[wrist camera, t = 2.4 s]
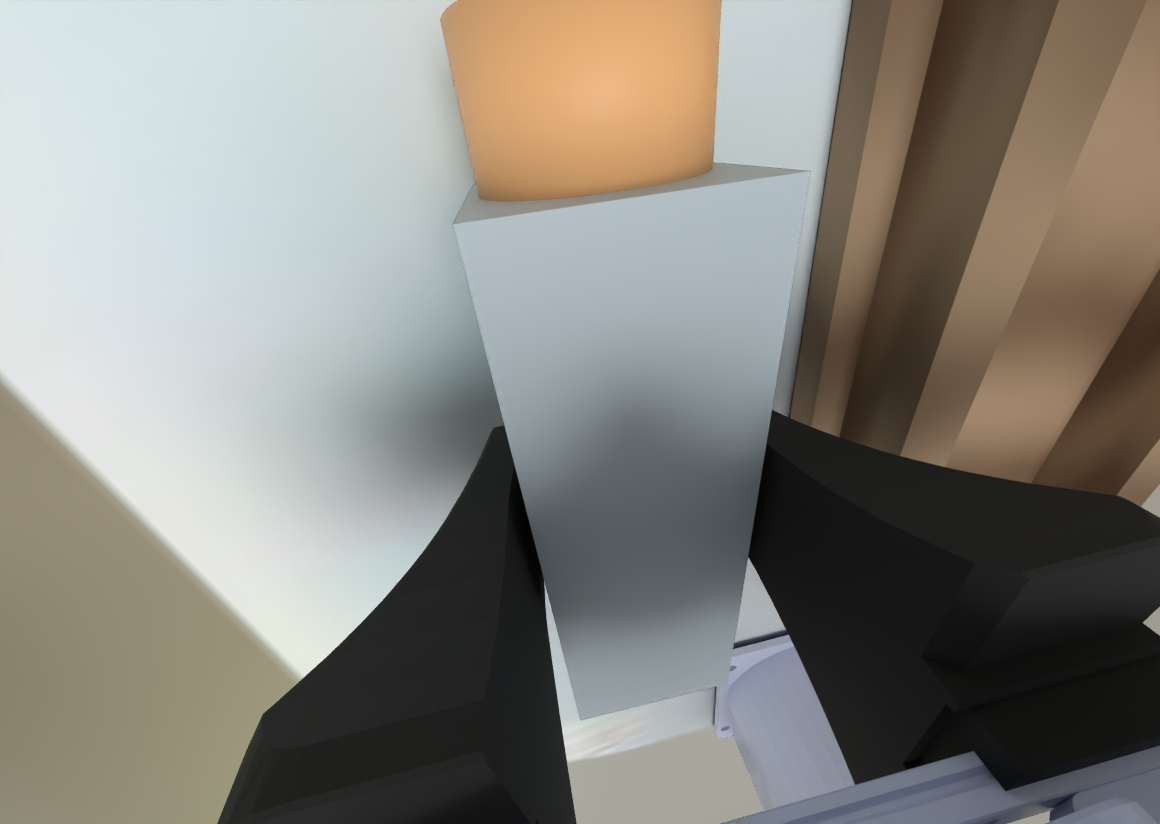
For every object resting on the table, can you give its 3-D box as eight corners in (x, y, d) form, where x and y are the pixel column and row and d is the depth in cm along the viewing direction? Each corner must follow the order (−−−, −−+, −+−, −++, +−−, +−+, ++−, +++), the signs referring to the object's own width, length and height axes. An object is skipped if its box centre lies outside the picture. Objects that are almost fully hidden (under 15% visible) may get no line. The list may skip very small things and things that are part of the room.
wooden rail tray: (1022, 516, 19) (1103, 574, 16) (764, 581, 18) (808, 652, 16) (1547, -331, 7) (2105, -583, 5) (890, -246, 6) (1138, -488, 4)
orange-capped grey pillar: (664, 538, 16) (727, 683, 11) (556, 562, 15) (580, 720, 11) (662, 32, 8) (853, -94, 4) (444, 58, 8) (382, -49, 3)
